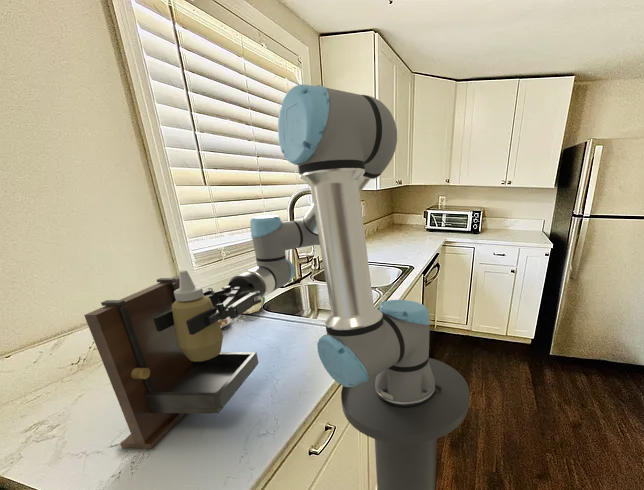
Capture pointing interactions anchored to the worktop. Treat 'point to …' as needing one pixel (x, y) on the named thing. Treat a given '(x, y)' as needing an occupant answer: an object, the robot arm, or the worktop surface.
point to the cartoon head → (255, 307)
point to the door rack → (159, 365)
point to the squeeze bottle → (188, 307)
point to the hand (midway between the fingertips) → (173, 326)
